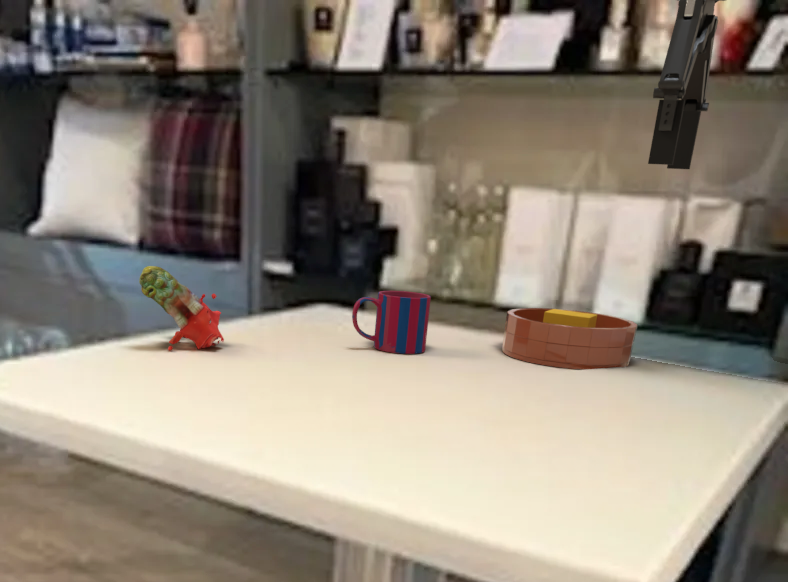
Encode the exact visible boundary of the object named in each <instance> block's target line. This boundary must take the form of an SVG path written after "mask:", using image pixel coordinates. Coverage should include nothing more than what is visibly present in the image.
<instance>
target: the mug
mask: <svg viewBox="0 0 788 582" xmlns="http://www.w3.org/2000/svg"><path fill="white" fill-rule="evenodd" d="M431 298H432V296H431V295H430V294H427V293H421V292H415V291H405V290H381V291H378V293H377V298H376V297H371V296H363V297H361V298H358V300H356V302H355V303H354V305H353V308H352V312H351V320H352V326H353V328H354V329H355V331H356V333H358V334H359V336H361V337H362V338H364V339H366V340H368V341H371V342H373V348H374V349H376V350H378V351H382V352H385V353H392V354H403V355H405V354H406V355H415V354H422V353H425V352H426V348H427V346H426V345H427V339H428V337H427V336H428V329H429V328H428V327H429V318H430V309H431V300H432V299H431ZM365 302H370V303H373V304H374V306H376V314H375V326H374V334H373V335H372V334H369V333H366V332H364V331H363V330H362V329H361V328H360V326H359V323H358V311H359V308H360V306H361V305H362V304H363V303H365Z"/></svg>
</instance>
